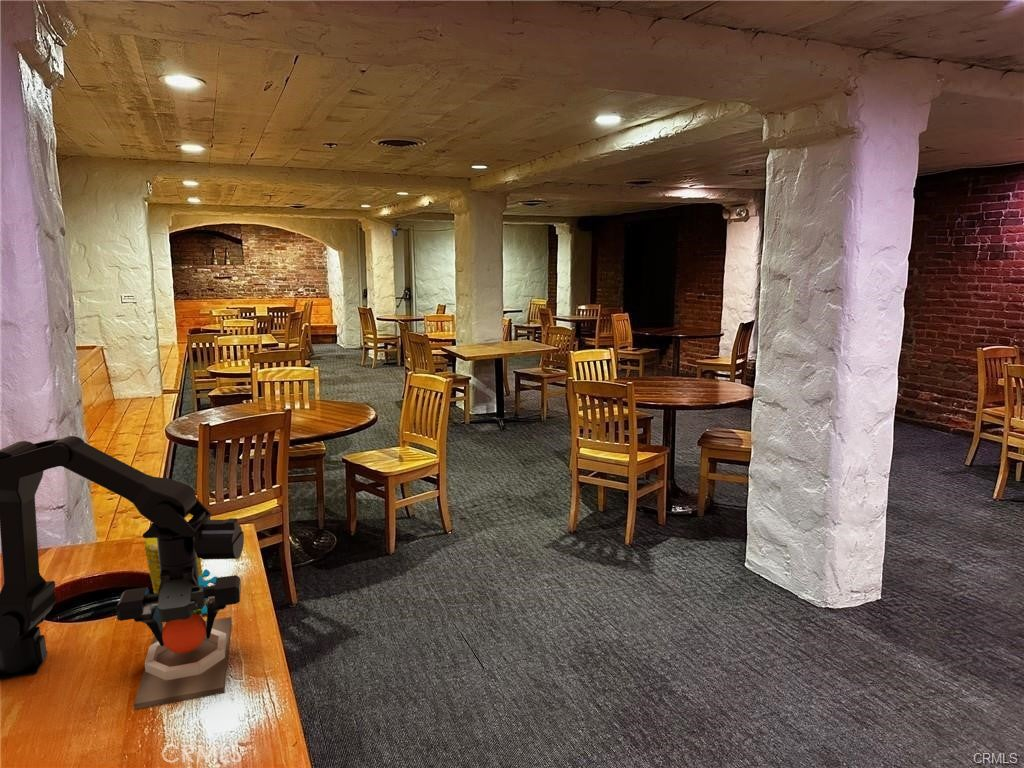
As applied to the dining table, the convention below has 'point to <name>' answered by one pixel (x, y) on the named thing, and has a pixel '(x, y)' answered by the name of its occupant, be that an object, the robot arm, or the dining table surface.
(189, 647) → the clementine
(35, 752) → the dining table surface
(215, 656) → the seat ring
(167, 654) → the board
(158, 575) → the food
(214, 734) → the dining table surface
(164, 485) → the robot arm
